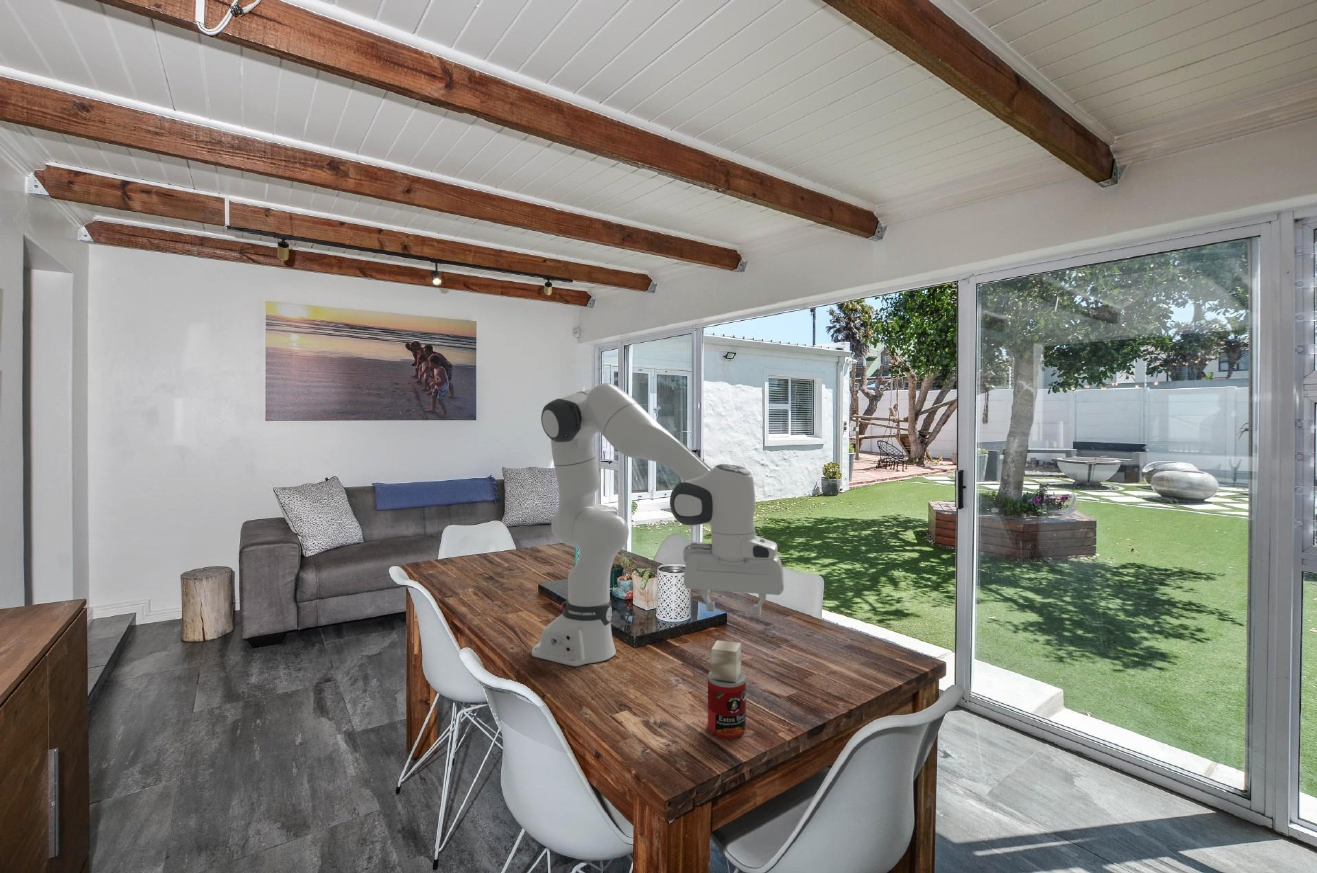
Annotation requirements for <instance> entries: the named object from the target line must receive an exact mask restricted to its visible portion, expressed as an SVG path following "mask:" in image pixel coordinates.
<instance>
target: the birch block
mask: <svg viewBox="0 0 1317 873" xmlns="http://www.w3.org/2000/svg"><path fill="white" fill-rule="evenodd" d="M711 671H712V679H716V680H723V681H731V682H737V680H738V678H739V675H740V673H741V672H742V643H741V642H734V641H726V640H716V641H715V643H714V645H713V646H712V647H711Z"/></svg>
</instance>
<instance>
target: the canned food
mask: <svg viewBox="0 0 1317 873" xmlns="http://www.w3.org/2000/svg"><path fill="white" fill-rule="evenodd" d="M746 706H747V680H746V675H745V673H743V672H742V671H741V673H740V675H739V678H738V680H737V682H731V681H723V680H716V679H712V670H710V671H709V672H708V673H707V726H708V727H707V728H708V729H709V730H708V731H709V732H710V733H711V735H712V736H715V737H716V738H719V739H725V740H732V739H738V738H740V737H741V736H743V735H744V733H745V731H746V726H747V722H746V721H747V719H746V718H747V715H746V714H747V712H746V710H747V708H746Z"/></svg>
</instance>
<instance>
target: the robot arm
mask: <svg viewBox="0 0 1317 873" xmlns="http://www.w3.org/2000/svg"><path fill="white" fill-rule="evenodd" d="M540 416H541V417H540V419H541V426H542V429H543V431H544V433H545V435H546V436H547V437H548V438H549V439H550V446H551V454H552V462H553V465H554V469H555V470H554V471H555V476H556V480H557V486H558V494H559V495H558V496H559V497H558V498H559V499H558V506H557V511H556V512H555V513H554V515H553V516H552V519H551V524H550V526H551V533H552V534H553V536H554V537H555V538H556V539H557V540H558V541H560V542H561V543H563V544H565V546H569V547H574V548H577V549H579V556H578V559H577V560H578V561H577V562H576V565H574V566H573V567H571V568H570V570H569V571H568V576H567V577H568V579H567V583H568V584H567V585H568V586H567V590H568V594H567V595H568V597H567V599H566V600H565V601H563V602H562V604H560V605H559V610H560V611H561V610H562V613H561V614H560V615H558V616H557V617H556V618H555V619H554V620H552V621H551V622H550V623H548V624H547V625H546V626H545V627H544V629H543V630H542V632H541V636H540V641H539V642H537V644H535V646H533V648H532V650H531V656H532V657H535V658H538V659H542V660H546V661H551V662H553V663H554V662H555V663H559V664H563V665H567V666H571V667H579V666H584V665H586V664H593V663H600V662H603V661H607V660H609V659H611V658H612V657H614V656H615V655H616V652H617V650H616V648H615V643H614V639H613V634H612V633H613V632H612V624H611V622H612V615H613V614H612V612H613V610H612V599H611V596H610V595H611V594H610V592H611V590H610V589H611V588H610V587H611V572H612V567H613V563H614V561H615V558H616V557H617V554H619V552H620V551H621V550H623V549H624V547H625V546H626V545H627V542H628V538H629V533H630V532H629V531H630V530H629V525H628V523H627V521H626V520H625V519H624V518H623V517H621V516H620V515H617V514H616V513H614V512H612V511H608V510H601V509H596V508H595V505H594V504H595V503H594V499H595V498H594V497H595V493H596V492H597V491H598V490H599V488H600V486H601V476H600V472H599V470H600V469H599V466H598V462H597V456H596V452H595V446H594V442H593V437H594V435H595V434H597V433H600V434H601V435H602V436H603V437H604V439H605V440H606V441H607V442H608V443H609V444H610V445H611V447H613V448H614V449H615V450H616V451H618V452H619V453H620V454H623V456H626V457H628V458H633V459H638V460H646V461H650V462H655V463H659V464H662V465H664V466H665V467H668V468H669V469H670V470H672V471H673V472H674V473H675V474H677V476H679V477H680V479H682V480H683V481H681V482H679V483H677V484H676V485H675V486H674V488H672V491H671V493H670V497H669V508H670V510H671V513H672V515H673V517H674V518H675V519H676V521H677V522H678V523H680V524H682V525H684V526H690V527H691V526H692V527H694V526H695V527H696V526H700V525H704V524H705V525H710V528H711V535H710V536H711V540H710V541H711V542H710V543H696V542H691V543H690V544H688V545H686V546H685V547H684V548H683V554H682V558H683V562H684V563H685V565H684V572H683V585H684V586H685V588H686V589H690V590H700V596H701V597H702V599H703V601H704V602H705V604H706V608H705V610H706V612H710V613H711V612H713V613H714V612H715V610H716V601H715V600H712V599H711V597H710V596H709V593H710V591H714V592H715V591H716V592H727V593H728V592H729V593H744V594H745V593H746V594H758V599H759V601H758V603H757V604H755V603H753V605H752V615H753V616H761V614H762V606H763V604H764V602H765V601H766V599H767V595H774V596H779V595H781V594H783V592H784V590H785V575H784V574H785V573H784V569H783V568H784V567H783V564H782V560H781V558H780V557H779V556H778V555H777V554H778V550H779V549H778V548H779V547H778V544H777V542H775V541H773V540H770V539H766V538H764V537H761V536H758V535H756V526H755V523H754V516H755V515H754V514H755V511H756V497H755V496H756V494H755V483H754V478H753V475H752V473H751V471H749V470H748V468H745V467H743V466H740V465H735V464H728V463H727V464H725V463H721V464H717V465H715V466H714V467H713V468H712V467H711V466H710V465H709V464H707V463H706V461H704V460H703V459H702V458H700V457H699V456H698V455H697V454H696V453H695V452H694V451H692V450H691V449H690V448H689V447H688V446H687V445H686V444H684V443H683V442H682V441H681V440H680V439H679V438H677V437H676V436H675V435H673V433H670V432H669V430H667V429H666V428H664V426H662V425H661V424H660V423H659V422H658V421H657V420H655V418H653V417H652V416H651V414H649V413H648V412H647V411H646V410H645V409H644V408H643V406H641V405H640V403H638V401H636V400H635V399H634V398H633V397H632V396H631V395H630V394H628V393H627V392H626V391H625V390H623V389H622V388H620V387H619V386H617V385H615V384H614V383H610V382H604V383H600V384H598V385H596V386H594V387H593V388H592V389H586V390H581V391H578V392H575V393H572V394H570V395H566V396H564V397H562V398H556V399H554V400H551V401H549V403H547V404H546V405H544V406H543V409H542V411H541V415H540Z"/></svg>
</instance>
